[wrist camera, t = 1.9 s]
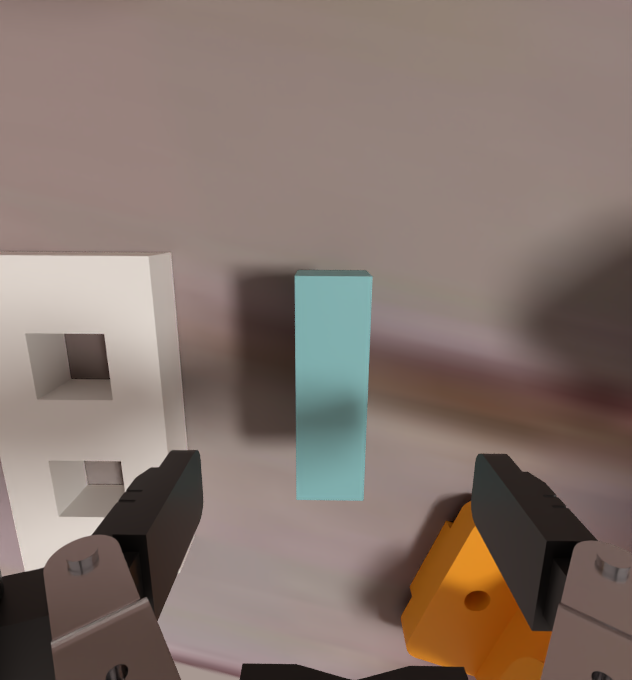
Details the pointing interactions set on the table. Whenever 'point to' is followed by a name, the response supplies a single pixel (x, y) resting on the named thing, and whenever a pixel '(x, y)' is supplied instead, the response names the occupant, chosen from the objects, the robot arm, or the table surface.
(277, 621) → the table surface
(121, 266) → the white slotted board
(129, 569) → the robot arm
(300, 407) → the teal block
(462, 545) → the bracket
